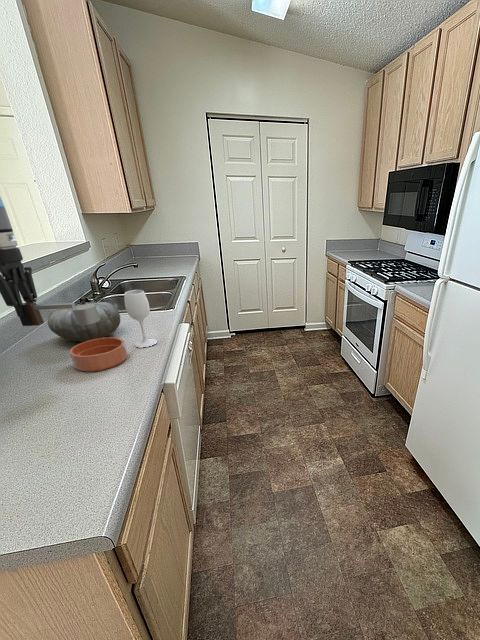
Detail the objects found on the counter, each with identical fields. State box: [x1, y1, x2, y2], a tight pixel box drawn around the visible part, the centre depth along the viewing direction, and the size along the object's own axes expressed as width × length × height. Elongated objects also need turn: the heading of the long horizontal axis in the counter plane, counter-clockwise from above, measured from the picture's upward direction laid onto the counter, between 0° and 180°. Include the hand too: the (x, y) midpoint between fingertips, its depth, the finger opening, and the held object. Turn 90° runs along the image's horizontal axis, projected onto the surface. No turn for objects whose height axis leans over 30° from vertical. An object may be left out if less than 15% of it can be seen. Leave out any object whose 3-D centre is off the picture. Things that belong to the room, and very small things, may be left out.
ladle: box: [22, 301, 100, 327], centre depth 106 cm, size 24×6×7 cm, turn 90°
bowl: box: [69, 336, 128, 373], centre depth 117 cm, size 17×17×6 cm
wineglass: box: [123, 289, 158, 349], centre depth 128 cm, size 9×9×21 cm
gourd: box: [47, 297, 121, 343], centre depth 136 cm, size 25×25×17 cm
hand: (31, 323), depth 107 cm, fingers closed on ladle, 2 cm apart
